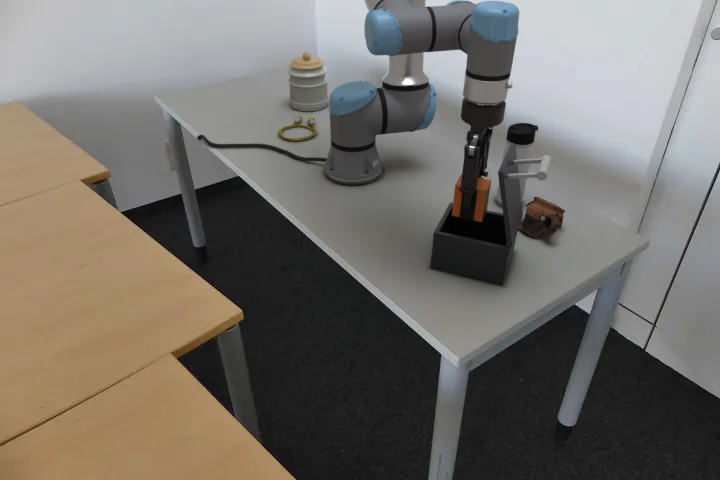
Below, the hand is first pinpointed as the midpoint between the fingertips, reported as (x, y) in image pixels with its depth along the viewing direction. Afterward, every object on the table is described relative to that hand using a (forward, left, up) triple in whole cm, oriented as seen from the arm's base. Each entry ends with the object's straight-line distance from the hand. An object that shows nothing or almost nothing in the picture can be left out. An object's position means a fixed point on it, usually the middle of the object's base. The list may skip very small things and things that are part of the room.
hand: (469, 211), depth 108 cm
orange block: (0, 0, 0) cm, 0 cm away
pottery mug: (+16, +14, -12) cm, 25 cm away
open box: (+2, 0, -11) cm, 12 cm away
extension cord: (-54, +54, -12) cm, 77 cm away
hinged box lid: (+7, -1, +5) cm, 9 cm away
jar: (-58, +76, -12) cm, 96 cm away
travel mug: (+9, +25, -12) cm, 29 cm away
